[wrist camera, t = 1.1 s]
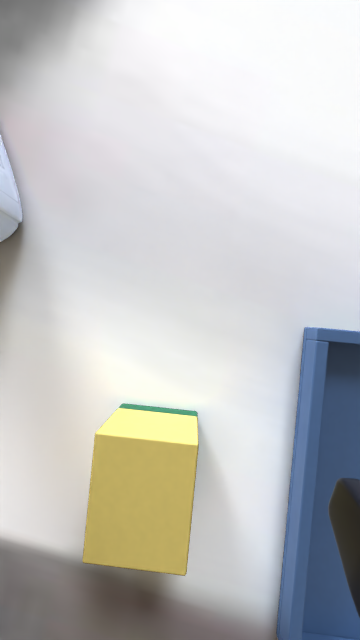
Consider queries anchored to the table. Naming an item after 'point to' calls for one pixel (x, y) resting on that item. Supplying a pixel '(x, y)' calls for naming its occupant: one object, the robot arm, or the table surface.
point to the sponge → (142, 490)
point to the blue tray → (321, 489)
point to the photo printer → (8, 197)
